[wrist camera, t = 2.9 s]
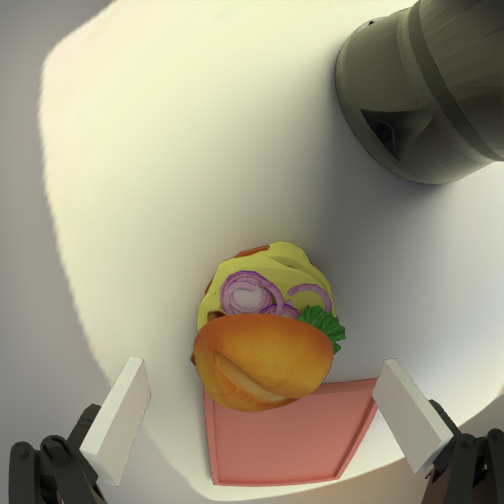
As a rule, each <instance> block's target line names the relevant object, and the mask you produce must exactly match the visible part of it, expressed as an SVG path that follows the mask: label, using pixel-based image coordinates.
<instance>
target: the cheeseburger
mask: <svg viewBox="0 0 504 504" xmlns="http://www.w3.org/2000/svg"><path fill="white" fill-rule="evenodd" d="M269 246H270V247H266V246H263V247H259V248H255V249H252V250H248V251H244V252H241V253H239V254H238V255H236V256H235V257H233V258H232V259H228V260H226V261H224V262H222V263H221V264H220V265H219V266H218V268H217V271H216V273H215V276H214V277H213V279H212V281H211V282H210V284H209V286H208V288H207V289H206V292H205V297H204V298H203V300H202V301H201V302H200V306H199V308H198V318H197V319H198V321H197V330H198V335H197V336H196V338H195V341H194V351H193V352H192V355H191V357H190V360H191V361H192V363H193V364H194V365H195V366H196V370H197V372H198V375H199V377H200V379H201V381H202V383H203V385H204V388H205V390H206V393H207V394H208V395H209V396H210V397H211V398H212V399H213V400H215V401H216V402H217V403H219V404H220V405H222V406H225V407H227V408H229V409H232V410H237V411H241V412H261V411H265V410H270V409H275V408H279V407H282V406H286V405H288V404H291V403H293V402H295V401H297V400H299V399H301V398H302V397H305V396H307V395H308V394H310V393H311V392H313V391H314V390H315V389H316V388H318V387H319V386H320V384H321V383H322V381H323V380H324V378H325V377H326V375H327V374H328V372H329V371H330V368H331V364H332V361H333V355H335V354H336V353H337V352H338V351H339V350H340V349H341V346H339V345H338V344H336V343H334V342H336V341H339V340H342V339H346V337H345V328H344V327H343V326H341V325H340V324H339V320H338V318H337V317H336V312H335V307H334V305H333V296H332V289H331V285H330V284H329V282H328V280H327V279H326V277H325V276H324V275H323V274H322V273H321V272H320V271H319V270H318V269H317V268H316V267H315V266H314V265H313V264H312V263H311V262H309V259H308V256H307V255H306V254H305V253H304V251H303V250H302V249H301V248H299V247H297V246H296V245H294V244H292V243H290V242H282V241H277V242H274V243H272V244H269Z"/></svg>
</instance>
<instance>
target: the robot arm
mask: <svg viewBox="0 0 504 504" xmlns="http://www.w3.org/2000/svg"><path fill="white" fill-rule="evenodd" d="M335 83H336V90H337V95H338V99H339V102H340V105H341V108H342V111H343V113H344V116H345V118H346V120H347V122H348V124H349V126H350V127H351V129H352V131H353V132H354V134H355V136H356V137H357V139H358V140H359V141H360V143H361V144H362V145H363V147H364V148H365V149H366V150H367V151H368V152H369V153H370V154H371V156H372V157H373V158H374V159H376V160H377V161H378V162H379V163H380V164H381V165H382V166H384V167H385V168H386V169H388V170H389V171H391V172H392V173H394V174H396V175H398V176H400V177H402V178H404V179H407V180H409V181H413V182H418V183H430V184H445V183H450V182H454V181H457V180H459V179H461V178H463V177H465V176H467V175H469V174H471V173H473V172H475V171H477V170H479V169H481V168H483V167H485V166H487V165H489V164H491V163H493V162H494V161H504V0H419V1H417V2H416V3H415V4H414V5H413V6H412V7H410V8H407V9H403V10H400V11H398V12H395V13H393V14H391V15H390V16H388V17H380V18H376V19H373V20H370V21H368V22H366V23H364V24H363V25H361V26H360V27H358V28H357V29H356V30H355V31H354V32H353V33H352V34H351V36H350V37H349V38H348V40H347V41H346V42H345V44H344V45H343V47H342V48H341V50H340V52H339V55H338V58H337V62H336V68H335ZM150 397H151V393H150V389H149V384H148V380H147V375H146V370H145V364H144V359H142V358H135V357H130V358H129V360H128V362H127V363H126V365H125V367H124V368H123V370H122V372H121V373H120V375H119V377H118V379H117V380H116V382H115V384H114V386H113V387H112V389H111V391H110V393H109V394H108V396H107V398H106V400H105V402H104V403H103V405H102V406H99V405H95V404H92V405H90V406H89V407H87V408H86V409H85V410H84V412H83V413H82V415H81V417H80V419H79V420H78V422H77V425H75V427H74V429H73V430H72V432H71V434H70V436H69V437H68V439H67V441H66V440H65V439H64V438H63V437H61V436H58V435H51V436H48V437H46V438H45V439H43V441H42V442H41V445H40V446H41V447H40V450H41V451H38V450H34V448H33V447H32V446H31V445H30V444H28V443H27V442H17V443H15V445H13V446H12V449H11V453H10V464H9V504H62V500H63V502H64V504H107V502H106V500H105V498H104V496H103V494H102V492H101V490H100V488H99V486H98V484H97V483H96V481H97V478H98V477H99V478H100V479H101V481H102V482H104V483H107V484H110V485H113V486H116V487H118V486H119V483H120V480H121V477H122V474H123V471H124V468H125V465H126V462H127V459H128V457H129V454H130V451H131V448H132V445H133V442H134V440H135V437H136V434H137V432H138V429H139V426H140V423H141V421H142V418H143V415H144V413H145V410H146V408H147V405H148V402H149V400H150ZM372 397H373V399H374V400H375V402H376V404H377V406H378V407H379V409H380V411H381V413H382V415H383V416H384V418H385V420H386V422H387V424H388V426H389V427H390V429H391V431H392V433H393V435H394V437H395V438H396V440H397V442H398V444H399V446H400V448H401V450H402V451H403V453H404V455H405V457H406V459H407V461H408V463H409V465H410V466H411V469H412V470H413V472H414V474H417V473H419V472H422V471H424V470H426V469H427V468H428V467H429V466H430V465H431V464H432V463H433V464H434V468H433V469H432V470H431V471H430V472H429V473H428V474H427V475H426V477H425V479H427V478H428V477H429V476H430V479H429V482H428V485H427V488H426V491H425V494H424V497H423V500H422V503H421V504H504V433H503V432H502V431H501V430H499V429H491V430H490V431H489V432H488V434H487V435H486V436H485V437H479V438H475V437H474V436H473V435H470V434H462V433H461V432H460V431H459V429H458V428H457V426H456V425H455V424H454V423H453V421H452V420H451V419H450V417H449V416H448V415H447V413H446V412H444V409H443V408H442V407H441V406H440V404H438V403H437V402H435V401H434V400H432V399H431V400H427V398H426V397H425V396H424V395H423V393H422V392H421V391H420V389H419V388H418V387H417V385H416V384H415V383H414V382H413V380H412V379H411V378H410V377H409V375H408V374H407V373H406V371H405V370H404V369H403V368H402V366H401V365H400V364H399V363H398V361H397V360H396V359H388V360H384V362H383V365H382V368H381V371H380V374H379V377H378V379H377V382H376V385H375V387H374V390H373V393H372ZM485 465H487V469H485ZM61 497H62V498H61Z"/></svg>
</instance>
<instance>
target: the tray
mask: <svg viewBox="0 0 504 504" xmlns="http://www.w3.org/2000/svg"><path fill="white" fill-rule="evenodd" d="M377 379H378V378H375V379H368V380H360V381H351V382H341V383H329V384H320V386H319V387H318V388H316V389H315V390H314V391H313V392H311V393H310V394H308V395H307V396H305V397H302V398H301V399H299V400H297V401H295V402H293V403H291V404H288V405H286V406H282V407H279V408H275V409H270V410H265V411H261V412H241V411H237V410H232V409H229V408H227V407H225V406H222V405H220V404H219V403H217V402H216V401H215V400H213V399H212V398H211V397H210V396H209V395H208V394H207V393H206V390H205V388H204V393H203V395H204V408H205V419H206V429H207V439H208V448H209V457H210V465H211V473H212V480H213V485H221V486H246V487H261V486H286V485H299V484H308V483H317V482H324V481H331V480H337V479H340V477H341V475H342V474H343V472H344V471H345V469H346V467H347V466H348V464H349V463H350V461H351V459H352V457H353V456H354V454H355V452H356V450H357V449H358V447H359V445H360V443H361V441H362V439H363V438H364V436H365V434H366V432H367V430H368V428H369V426H370V424H371V422H372V420H373V418H374V416H375V414H376V411H377V409H378V406H377V404H376V402H375V400H374V399H373V397H372V393H373V390H374V387H375V385H376V382H377Z"/></svg>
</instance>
